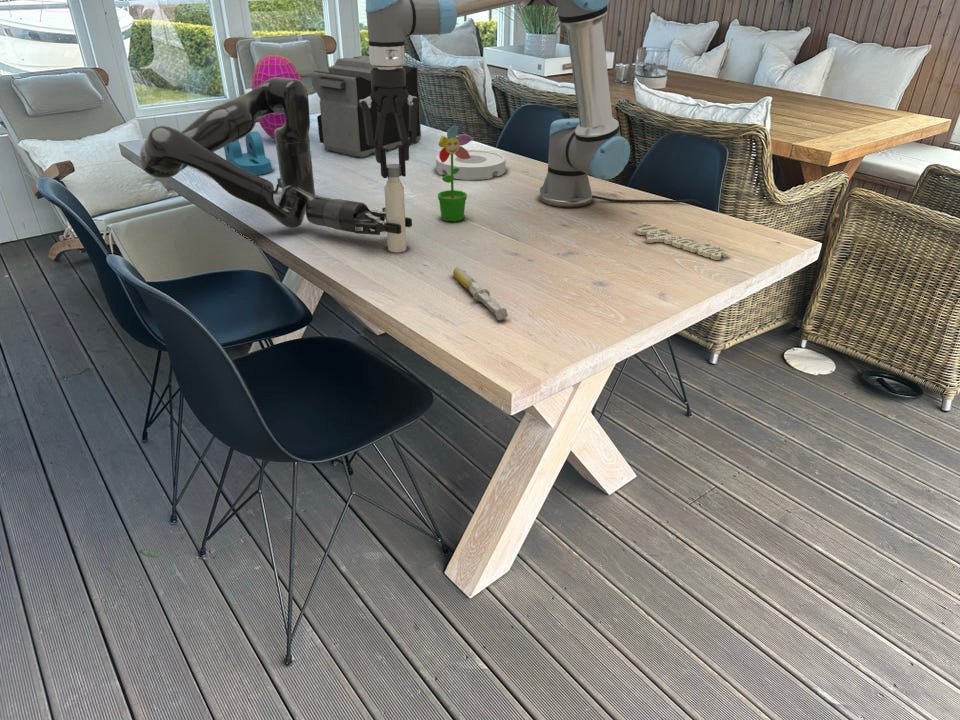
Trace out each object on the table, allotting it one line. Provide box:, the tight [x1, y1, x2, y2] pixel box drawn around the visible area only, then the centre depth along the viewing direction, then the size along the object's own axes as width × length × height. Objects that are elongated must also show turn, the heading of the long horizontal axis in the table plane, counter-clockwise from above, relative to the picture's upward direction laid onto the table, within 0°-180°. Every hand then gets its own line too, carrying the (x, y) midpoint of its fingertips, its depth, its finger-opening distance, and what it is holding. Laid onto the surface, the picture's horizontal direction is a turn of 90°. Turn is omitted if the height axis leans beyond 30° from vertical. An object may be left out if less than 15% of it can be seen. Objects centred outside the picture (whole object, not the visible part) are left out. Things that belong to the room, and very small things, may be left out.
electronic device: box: [310, 55, 422, 159], centre depth 250 cm, size 37×22×30 cm, turn 144°
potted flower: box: [437, 124, 474, 222], centre depth 182 cm, size 9×8×25 cm
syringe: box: [452, 266, 509, 321], centre depth 145 cm, size 25×4×3 cm, turn 21°
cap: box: [386, 163, 403, 178], centre depth 158 cm, size 4×4×2 cm
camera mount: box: [223, 131, 272, 176], centre depth 226 cm, size 18×10×10 cm, turn 35°
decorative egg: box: [251, 54, 303, 140], centre depth 257 cm, size 19×19×30 cm
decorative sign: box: [636, 222, 728, 261], centre depth 173 cm, size 26×1×10 cm
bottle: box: [384, 177, 407, 253], centre depth 163 cm, size 4×4×20 cm
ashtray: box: [435, 149, 507, 181], centre depth 229 cm, size 23×23×4 cm
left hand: (405, 226), depth 164 cm, fingers closed on bottle, 4 cm apart
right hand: (393, 175), depth 159 cm, fingers closed on cap, 4 cm apart
